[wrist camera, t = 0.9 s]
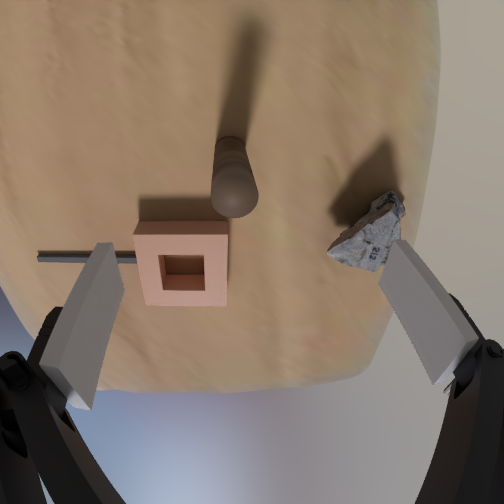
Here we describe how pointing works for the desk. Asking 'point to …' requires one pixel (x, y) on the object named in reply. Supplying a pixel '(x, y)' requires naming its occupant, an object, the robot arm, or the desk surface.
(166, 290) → the pink square frame
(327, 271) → the desk surface
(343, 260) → the mineral specimen
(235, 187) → the dowel
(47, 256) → the strip
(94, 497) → the robot arm
